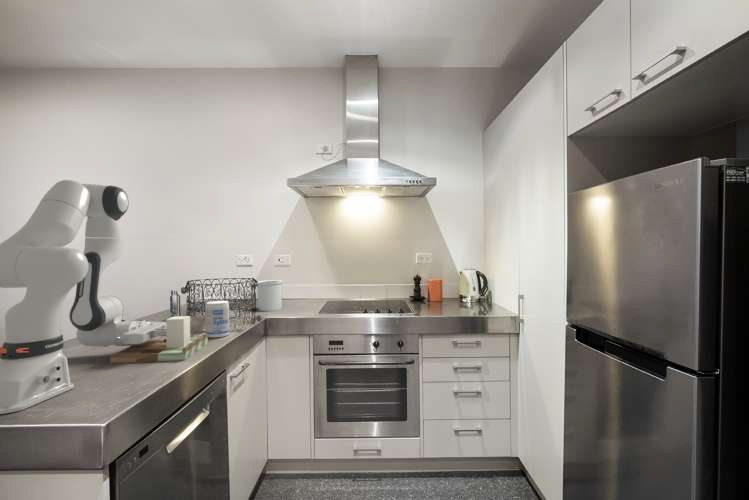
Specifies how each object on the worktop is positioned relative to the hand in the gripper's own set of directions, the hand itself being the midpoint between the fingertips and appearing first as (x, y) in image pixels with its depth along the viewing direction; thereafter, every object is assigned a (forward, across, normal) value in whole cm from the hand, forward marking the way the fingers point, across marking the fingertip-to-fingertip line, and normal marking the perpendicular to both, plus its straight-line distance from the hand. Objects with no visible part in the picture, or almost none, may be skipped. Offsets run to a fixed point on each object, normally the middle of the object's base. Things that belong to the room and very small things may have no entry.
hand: (169, 331), depth 136 cm
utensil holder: (+21, +91, +8) cm, 94 cm away
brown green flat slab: (-2, 0, +8) cm, 8 cm away
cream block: (+3, 0, +5) cm, 6 cm away
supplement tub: (+10, +24, +8) cm, 27 cm away
